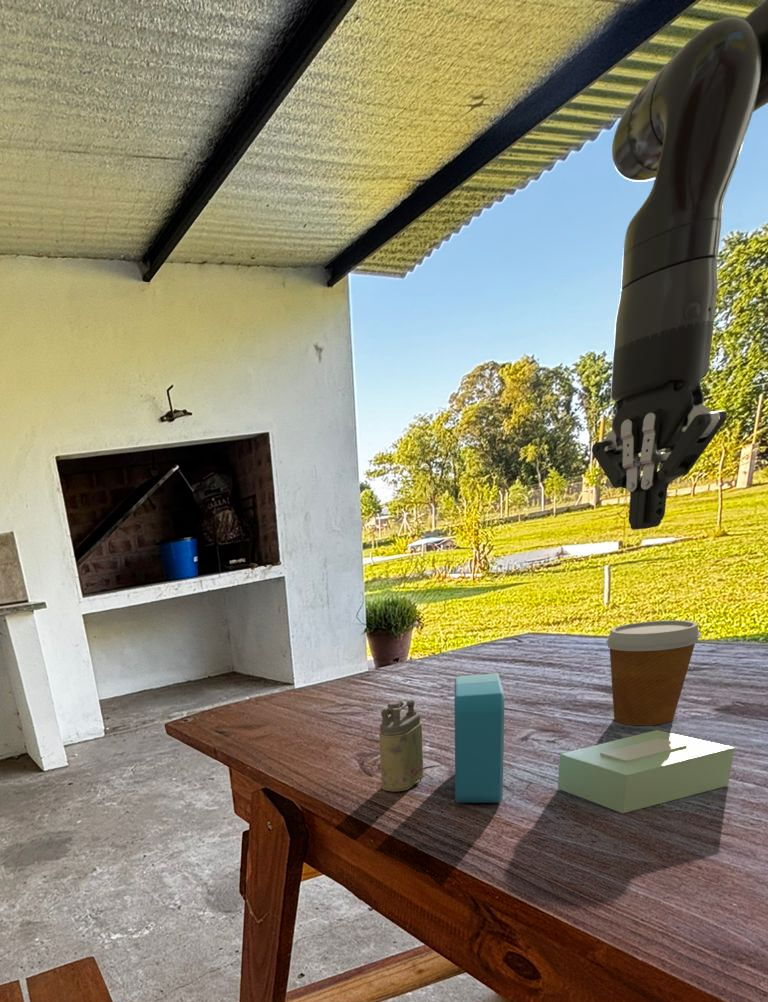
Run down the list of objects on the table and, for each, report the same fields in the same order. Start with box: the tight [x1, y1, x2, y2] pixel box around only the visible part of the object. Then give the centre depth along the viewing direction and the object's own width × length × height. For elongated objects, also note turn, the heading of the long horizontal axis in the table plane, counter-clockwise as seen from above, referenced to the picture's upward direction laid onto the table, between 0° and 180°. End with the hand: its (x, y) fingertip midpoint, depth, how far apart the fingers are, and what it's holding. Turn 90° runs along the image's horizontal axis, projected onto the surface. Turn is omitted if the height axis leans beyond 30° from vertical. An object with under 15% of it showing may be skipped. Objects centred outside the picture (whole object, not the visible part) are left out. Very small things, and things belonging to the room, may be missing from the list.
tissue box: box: [557, 729, 735, 814], centre depth 63 cm, size 12×4×8 cm
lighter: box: [378, 699, 425, 792], centre depth 74 cm, size 7×4×10 cm, turn 137°
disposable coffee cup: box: [605, 619, 702, 726], centre depth 79 cm, size 10×10×12 cm
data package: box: [454, 672, 505, 804], centre depth 68 cm, size 12×4×12 cm, turn 156°
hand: (645, 527), depth 65 cm, fingers closed
